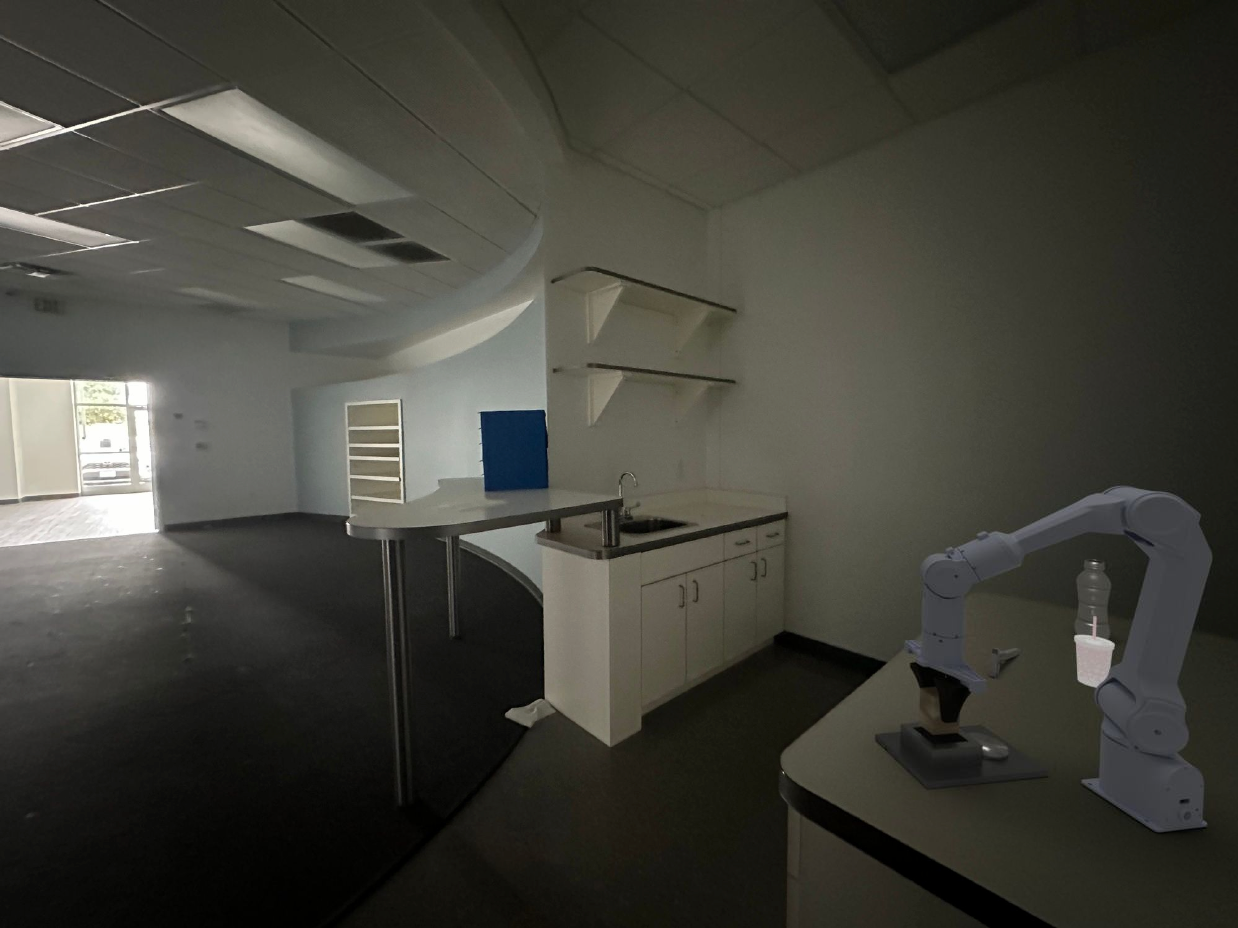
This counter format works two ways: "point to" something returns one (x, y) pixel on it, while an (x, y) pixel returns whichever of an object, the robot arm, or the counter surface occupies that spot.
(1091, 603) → the plastic bottle
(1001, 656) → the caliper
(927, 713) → the cardboard box
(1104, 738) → the robot arm
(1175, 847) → the counter surface
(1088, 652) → the beverage cup
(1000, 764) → the black tray
